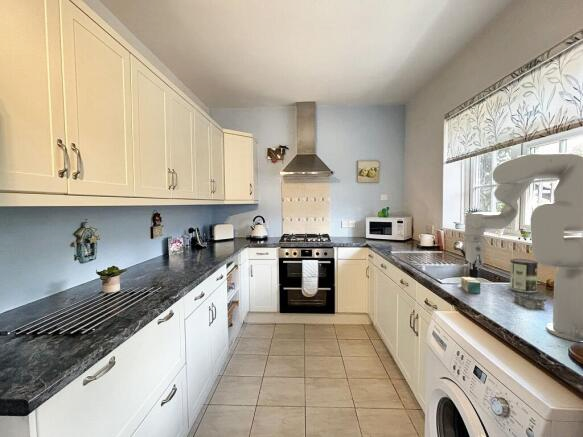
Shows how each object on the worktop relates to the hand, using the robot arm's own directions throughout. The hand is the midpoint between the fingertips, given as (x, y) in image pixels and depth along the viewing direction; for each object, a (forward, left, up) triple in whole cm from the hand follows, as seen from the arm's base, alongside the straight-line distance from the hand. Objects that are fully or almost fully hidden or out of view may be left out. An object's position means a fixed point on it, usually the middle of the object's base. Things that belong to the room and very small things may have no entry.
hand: (473, 277), depth 136 cm
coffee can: (+9, -25, -7) cm, 27 cm away
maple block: (-2, 0, -5) cm, 5 cm away
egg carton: (-14, -16, -8) cm, 22 cm away
